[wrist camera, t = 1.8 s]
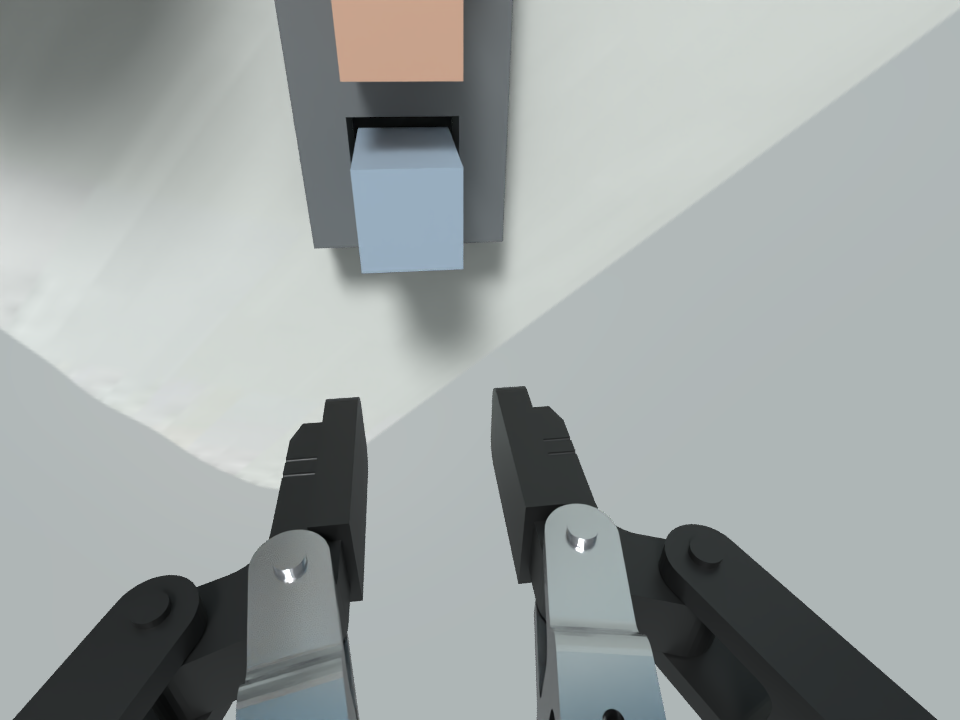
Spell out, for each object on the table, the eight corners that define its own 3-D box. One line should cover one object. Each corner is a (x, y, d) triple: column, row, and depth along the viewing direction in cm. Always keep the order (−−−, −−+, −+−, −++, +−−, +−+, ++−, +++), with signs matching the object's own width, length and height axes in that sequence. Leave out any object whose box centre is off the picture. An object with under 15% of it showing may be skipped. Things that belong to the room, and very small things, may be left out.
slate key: (448, 126, 28) (463, 167, 22) (449, 212, 31) (463, 269, 25) (358, 127, 28) (350, 170, 22) (366, 215, 30) (361, 273, 24)
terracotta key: (445, -62, 24) (463, -71, 18) (446, 56, 26) (463, 81, 21) (339, -65, 23) (322, -75, 18) (350, 56, 26) (340, 81, 20)
